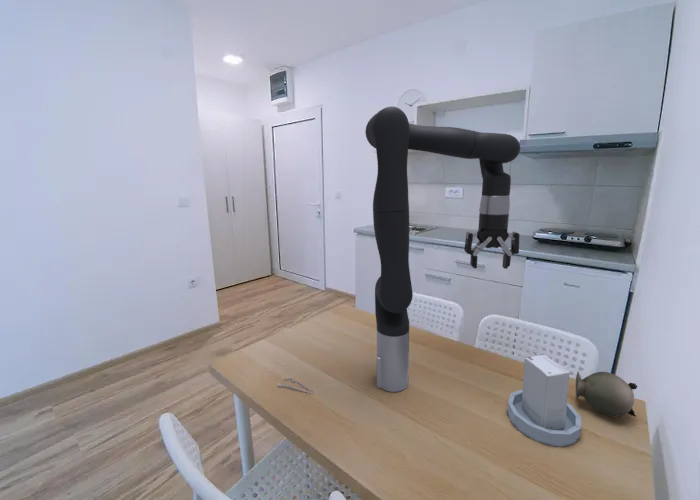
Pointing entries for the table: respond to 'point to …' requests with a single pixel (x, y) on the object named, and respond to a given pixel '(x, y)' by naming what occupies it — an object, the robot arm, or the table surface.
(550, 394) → the skincare box
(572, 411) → the bowl
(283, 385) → the tweezers
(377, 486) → the table surface
